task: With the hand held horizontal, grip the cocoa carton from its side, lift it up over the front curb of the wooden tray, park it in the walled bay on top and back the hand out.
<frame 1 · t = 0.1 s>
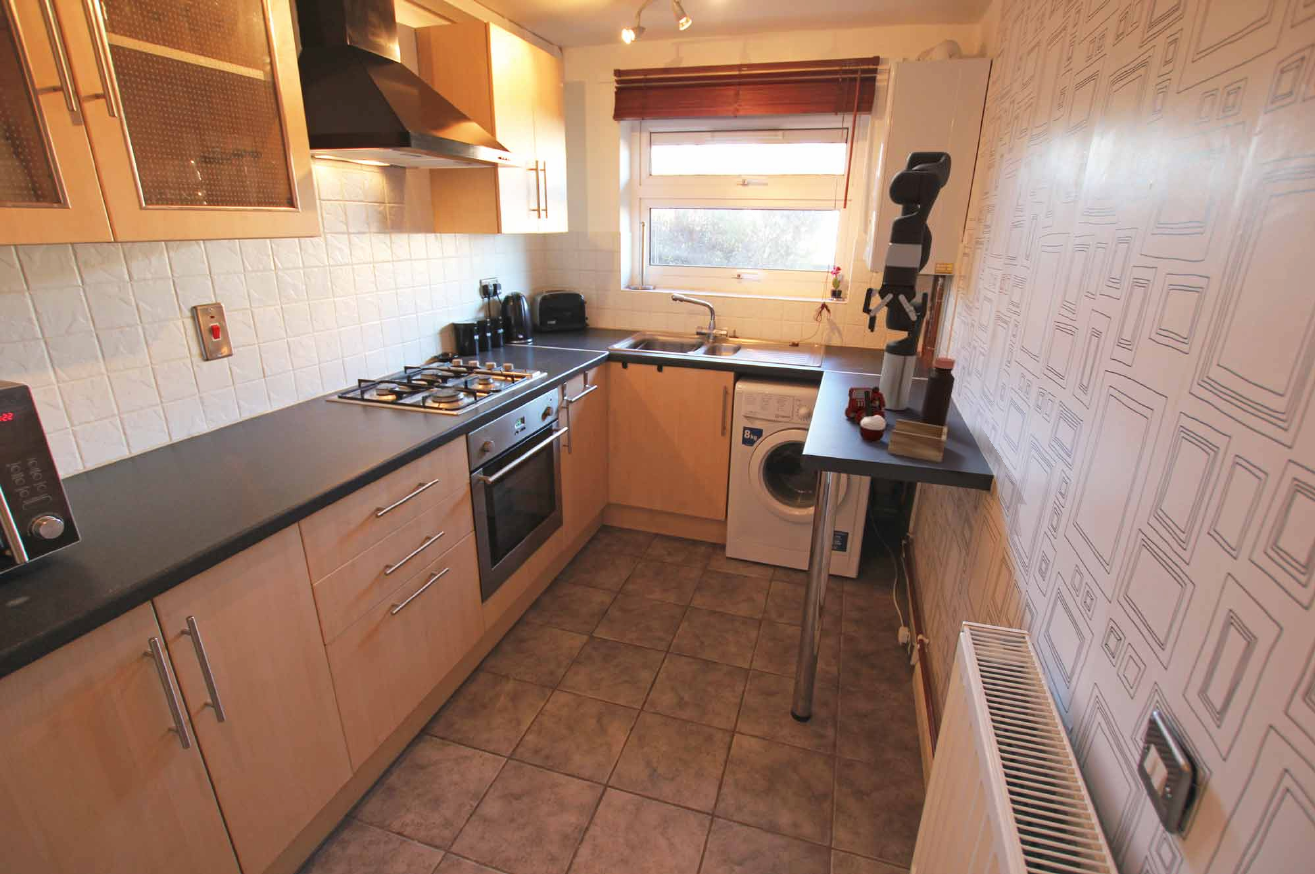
hand: (890, 333, 147), 29 cm above the table, tool pointing down, fingers open, 8 cm apart
cocoa: (869, 439, 163), on the table
toy fire truck: (863, 421, 179), on the table
bottle: (931, 428, 175), on the table
wooden tray: (916, 449, 157), on the table
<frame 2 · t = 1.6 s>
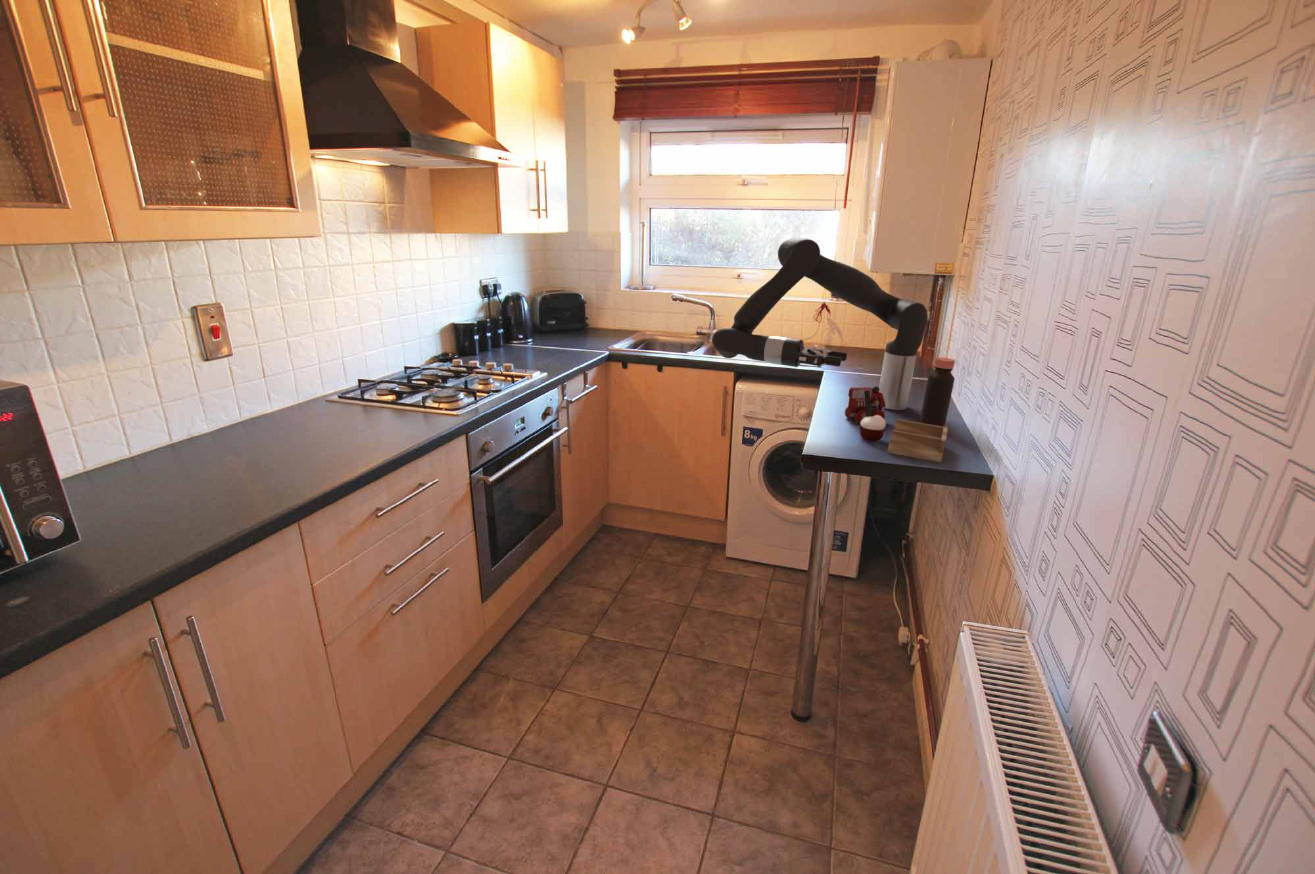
hand: (843, 359, 161), 20 cm above the table, tool horizontal, fingers open, 8 cm apart
nothing on the table moved.
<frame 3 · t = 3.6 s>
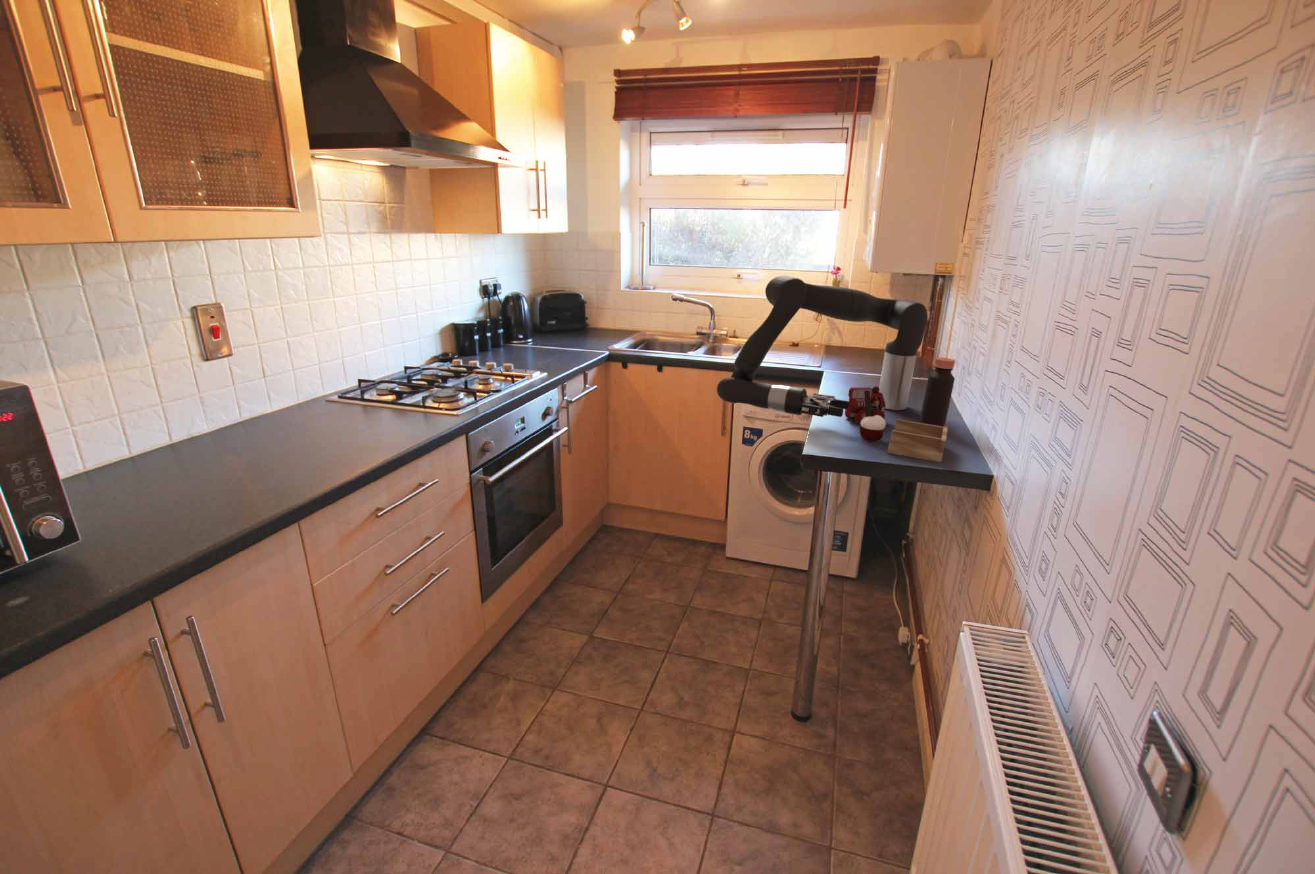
hand: (845, 409, 164), 7 cm above the table, tool horizontal, fingers open, 8 cm apart
nothing on the table moved.
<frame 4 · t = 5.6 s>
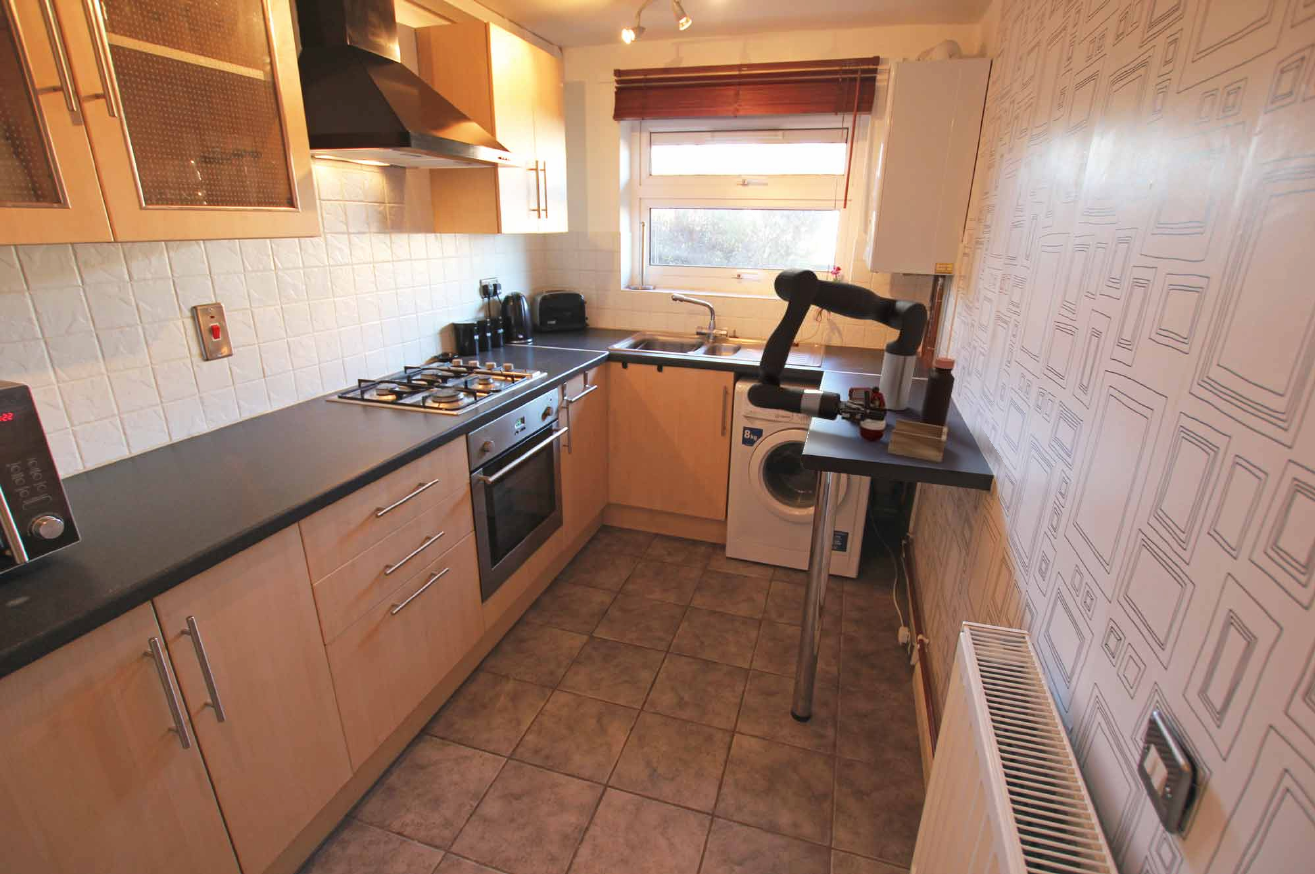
hand: (885, 415, 160), 7 cm above the table, tool horizontal, fingers open, 4 cm apart
cocoa: (869, 439, 163), on the table, touching gripper
everything else where it was.
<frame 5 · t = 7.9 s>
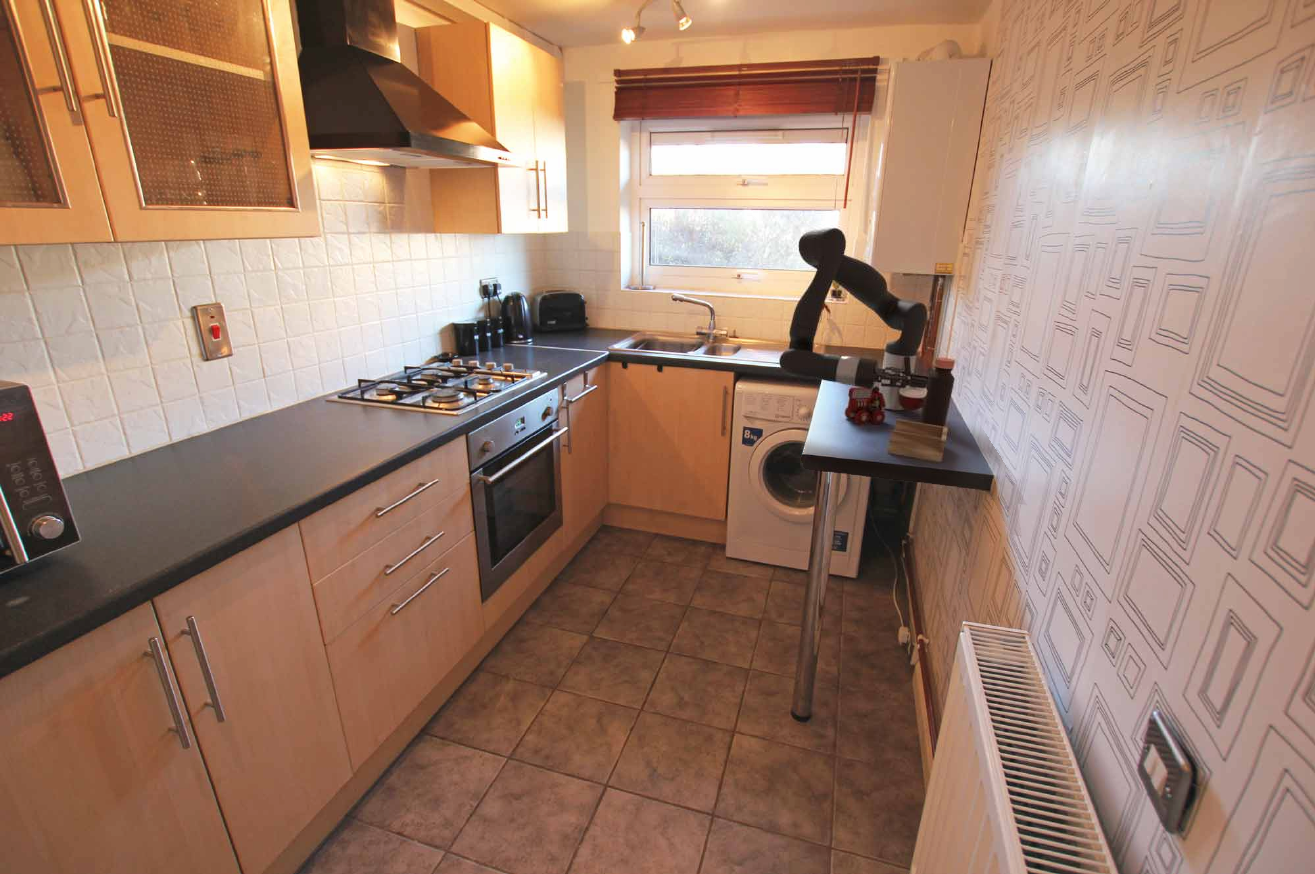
hand: (927, 382, 151), 18 cm above the table, tool horizontal, fingers closed on cocoa, 3 cm apart
cocoa: (909, 408, 155), point 10 cm above the table, touching gripper
everything else where it was.
when the fingers open (11 cm above the table, at t = 9.8 s): cocoa drops 1 cm, resting on wooden tray.
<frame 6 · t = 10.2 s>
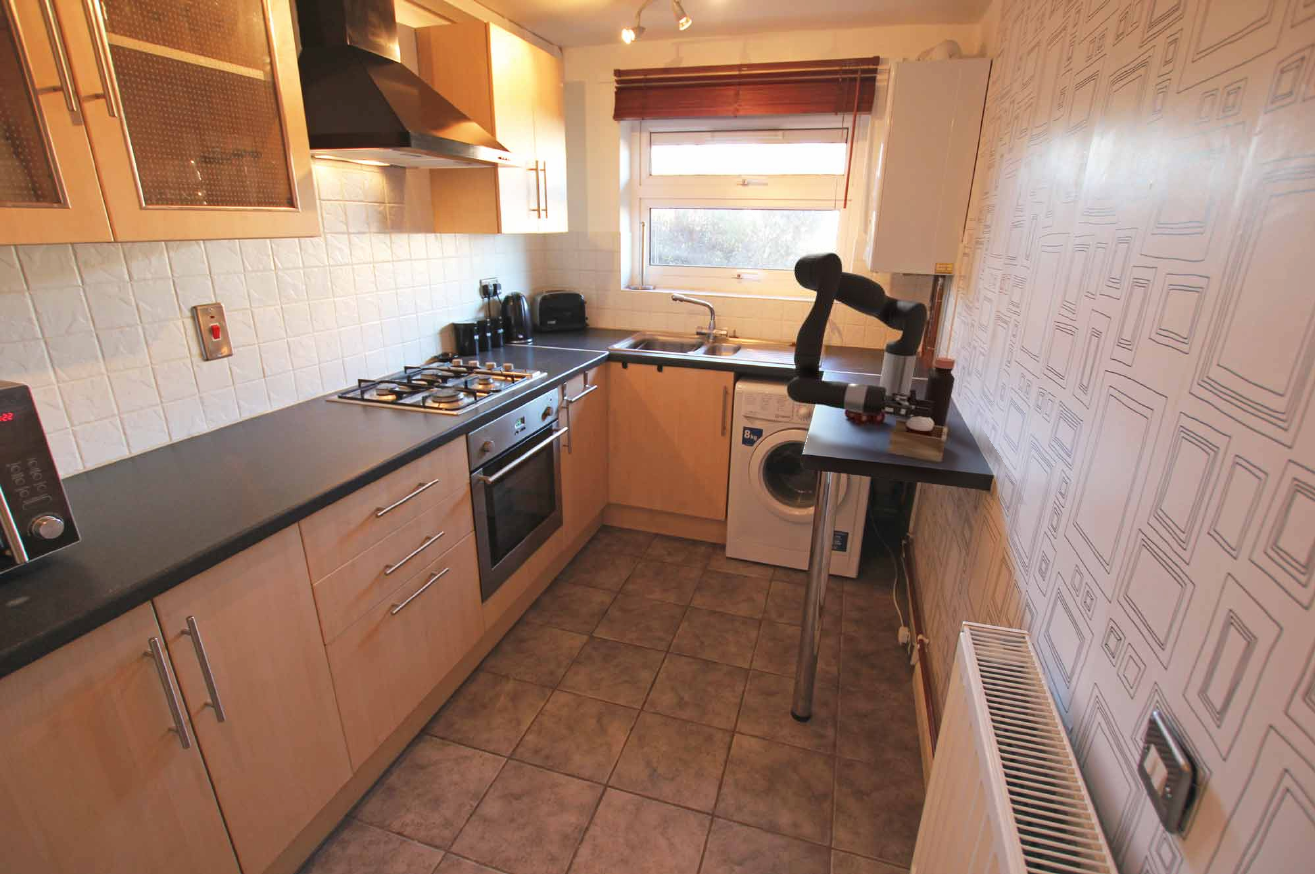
hand: (931, 409, 152), 11 cm above the table, tool horizontal, fingers open, 8 cm apart
cocoa: (916, 440, 156), point 2 cm above the table, touching wooden tray
everything else where it was.
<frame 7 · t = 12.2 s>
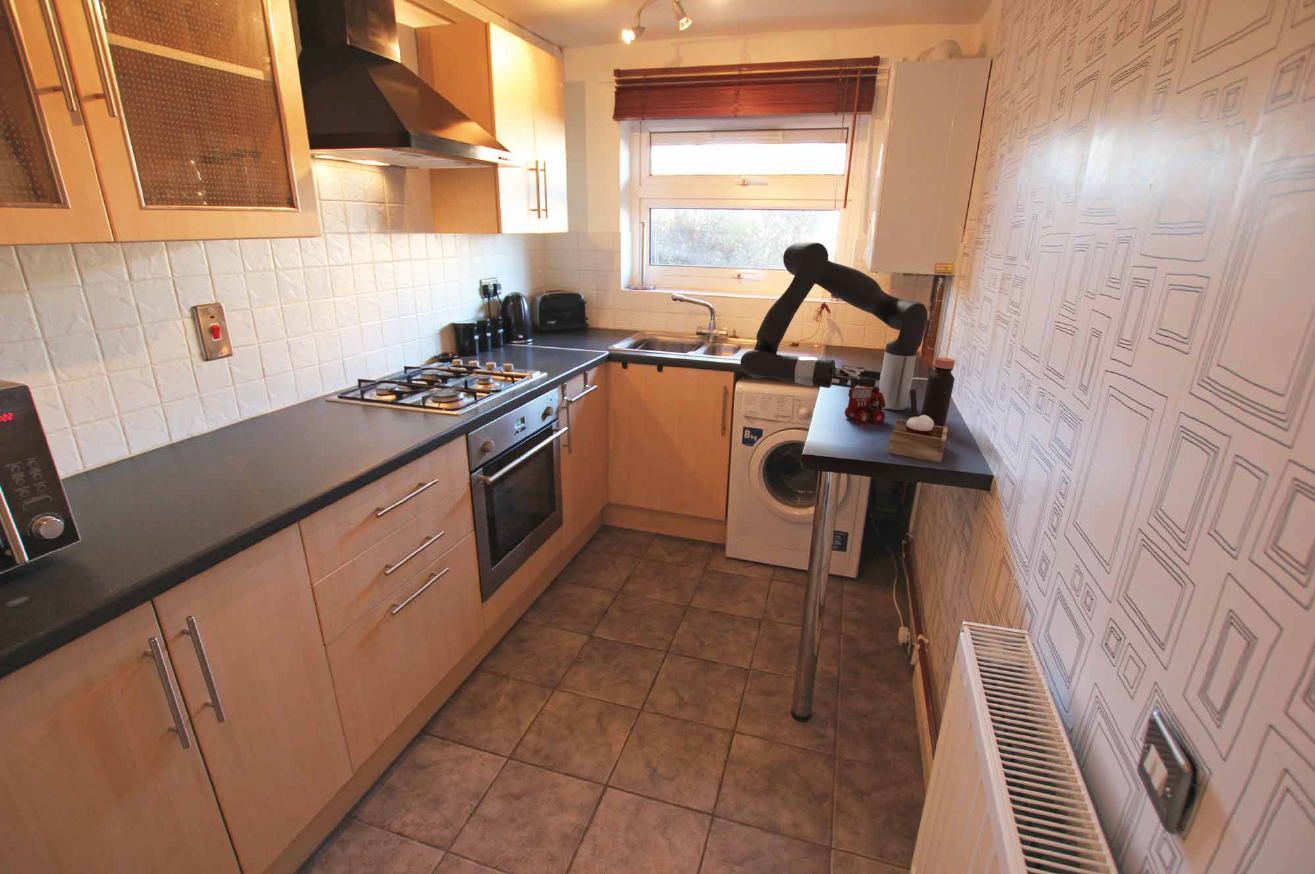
hand: (877, 379, 156), 16 cm above the table, tool horizontal, fingers open, 8 cm apart
nothing on the table moved.
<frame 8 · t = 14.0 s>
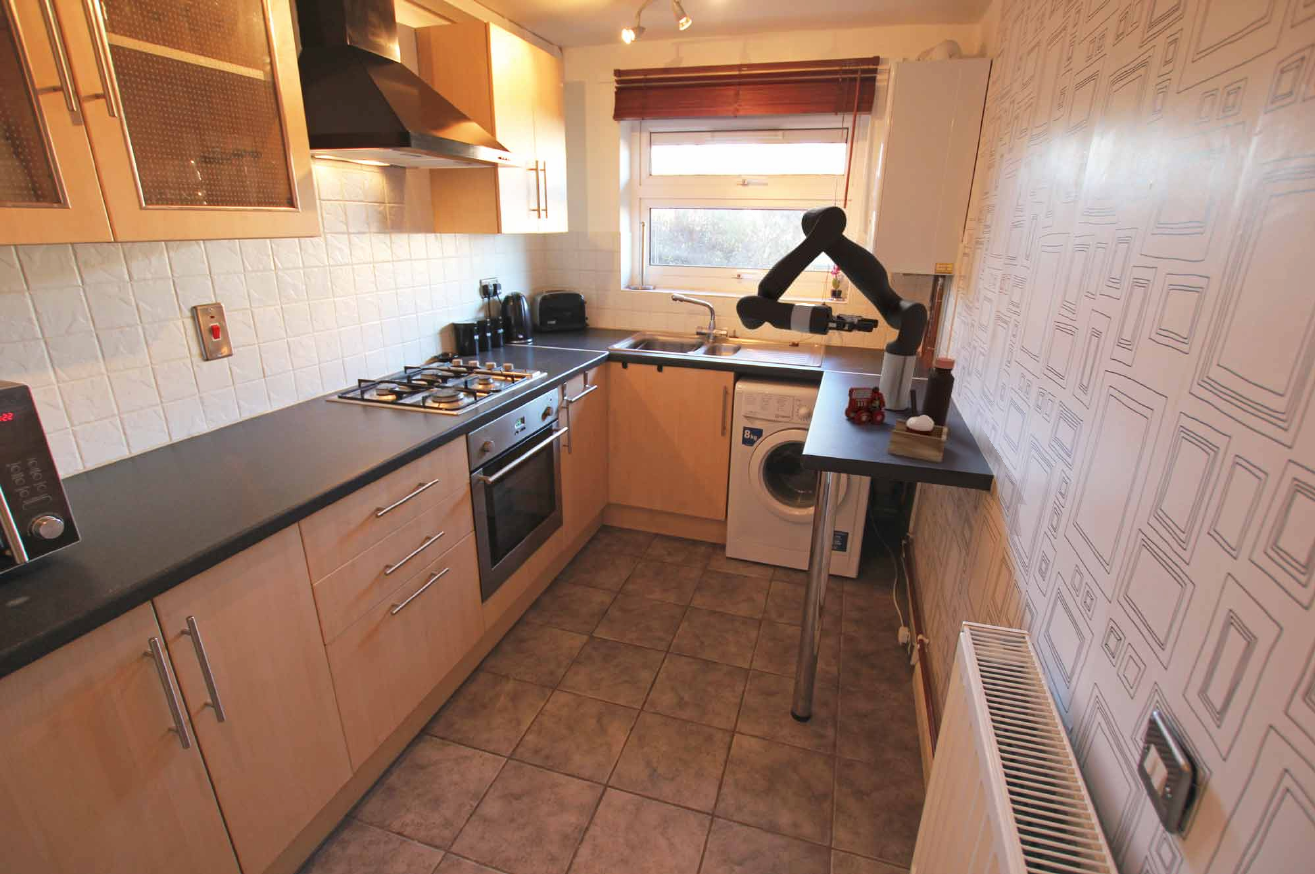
hand: (875, 326, 153), 30 cm above the table, tool horizontal, fingers open, 8 cm apart
nothing on the table moved.
at the end: cocoa inside the target area (0.1 cm from its centre), point 2.3 cm above the table; cocoa tilted 0°; the gripper is holding nothing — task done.
